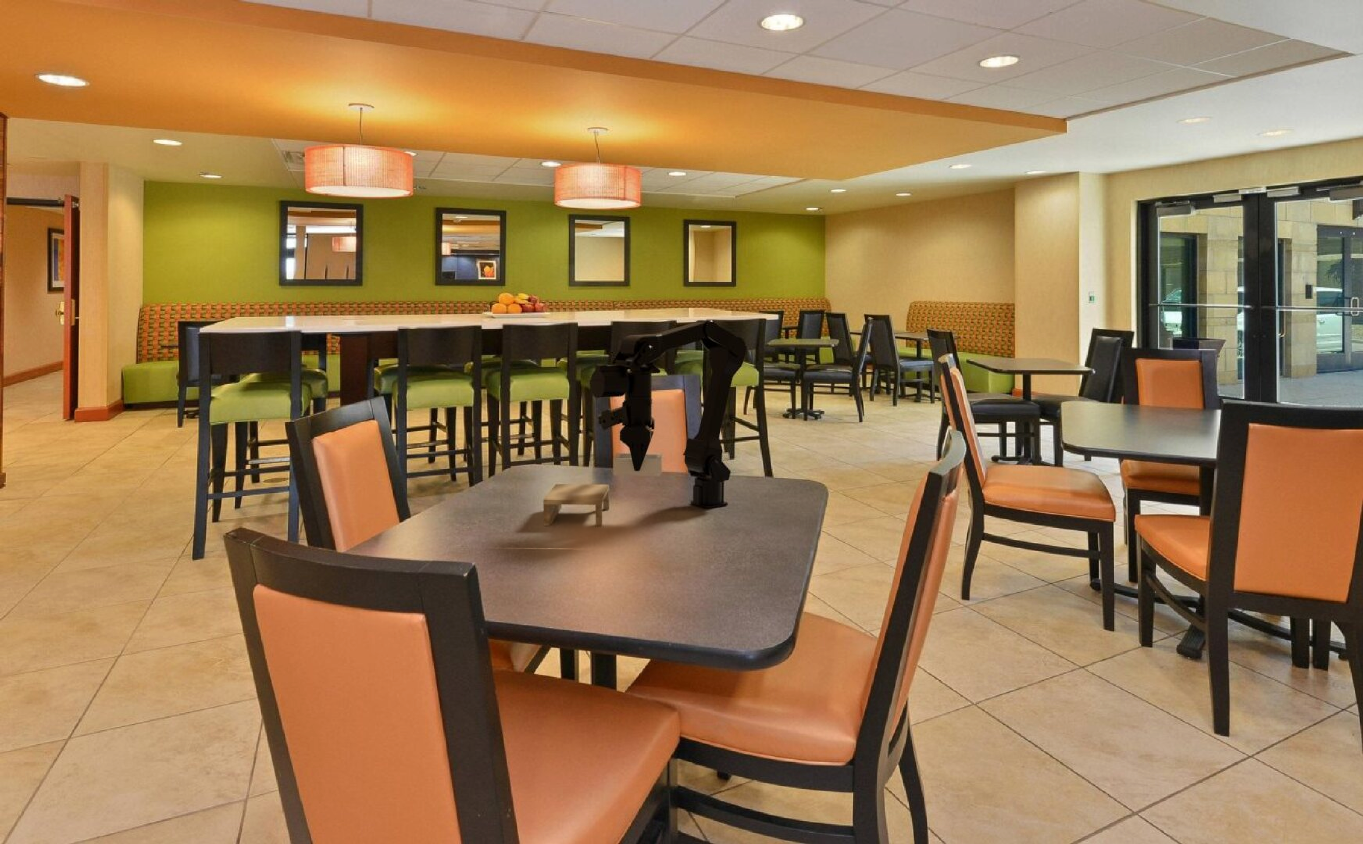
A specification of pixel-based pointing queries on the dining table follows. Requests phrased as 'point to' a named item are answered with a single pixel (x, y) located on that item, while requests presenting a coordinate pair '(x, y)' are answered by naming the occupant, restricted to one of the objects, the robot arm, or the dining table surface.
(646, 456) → the beige tray
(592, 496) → the oak shelf
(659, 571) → the dining table surface
